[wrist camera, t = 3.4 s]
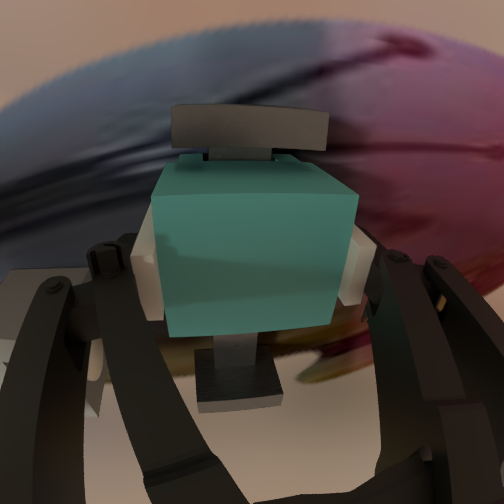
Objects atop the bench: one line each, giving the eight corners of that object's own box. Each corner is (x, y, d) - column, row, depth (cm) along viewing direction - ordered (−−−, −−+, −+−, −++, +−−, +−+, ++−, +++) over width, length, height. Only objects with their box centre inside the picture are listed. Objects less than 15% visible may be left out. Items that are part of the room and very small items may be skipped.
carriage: (288, 249, 19) (329, 324, 13) (176, 253, 18) (169, 337, 12) (298, 154, 16) (359, 195, 10) (170, 154, 15) (150, 196, 9)
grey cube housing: (41, 339, 20) (16, 404, 14) (11, 269, 16) (-33, 333, 10) (116, 342, 21) (102, 417, 15) (93, 267, 17) (59, 344, 11)
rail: (267, 357, 24) (280, 405, 20) (195, 362, 23) (199, 413, 19) (292, 106, 15) (329, 112, 10) (180, 104, 14) (171, 106, 9)
